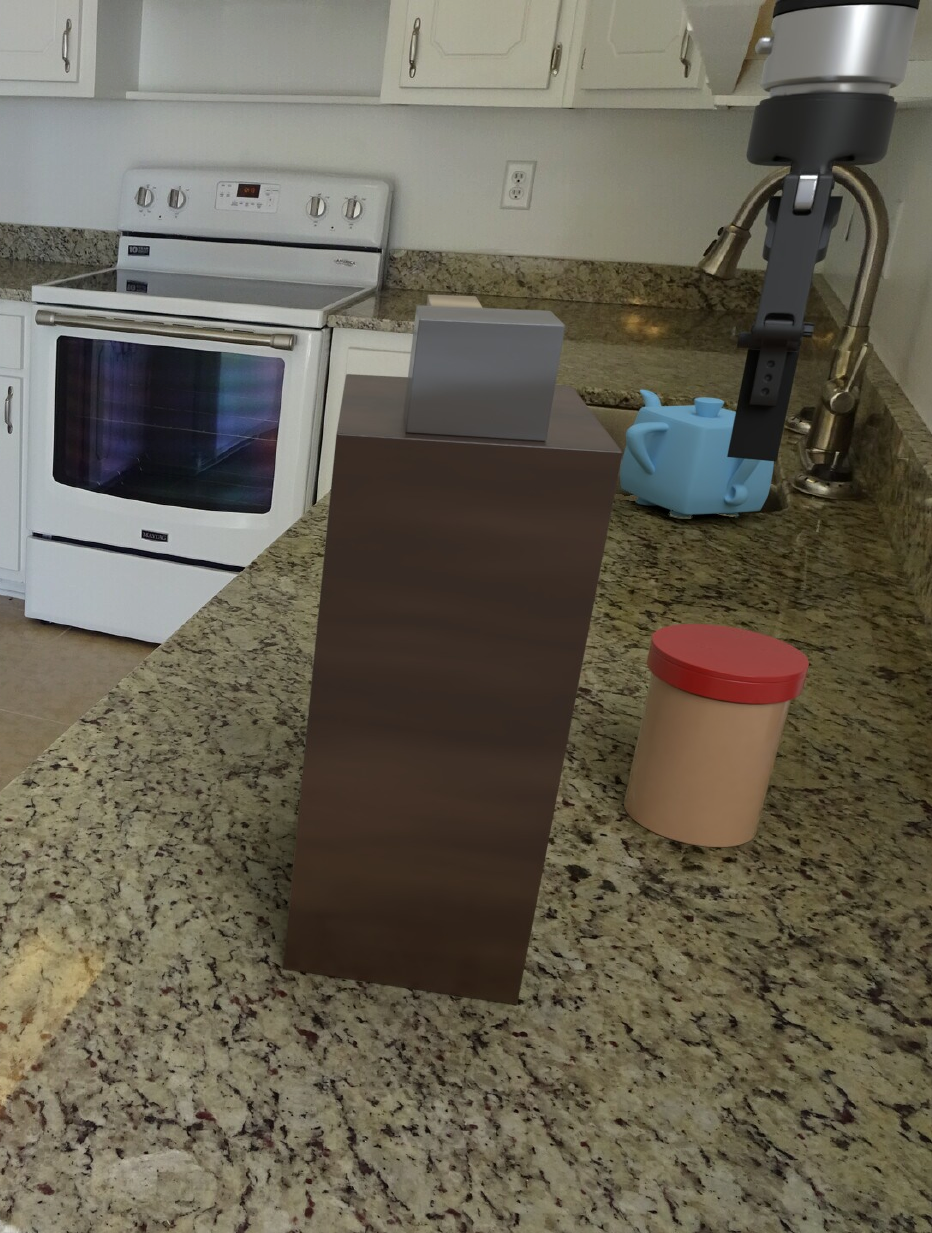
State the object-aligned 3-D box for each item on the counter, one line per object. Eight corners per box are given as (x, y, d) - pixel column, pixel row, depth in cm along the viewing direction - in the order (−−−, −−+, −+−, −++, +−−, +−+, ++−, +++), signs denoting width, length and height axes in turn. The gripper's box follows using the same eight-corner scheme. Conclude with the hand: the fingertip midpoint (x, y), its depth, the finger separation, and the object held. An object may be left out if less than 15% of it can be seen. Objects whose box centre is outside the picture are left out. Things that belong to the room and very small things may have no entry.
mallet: (546, 442, 55) (565, 325, 53) (405, 433, 56) (419, 318, 54) (493, 345, 81) (505, 264, 79) (398, 340, 82) (407, 261, 80)
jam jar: (751, 801, 85) (792, 644, 80) (761, 858, 78) (806, 690, 73) (624, 777, 88) (656, 625, 83) (622, 830, 81) (657, 668, 76)
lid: (795, 662, 81) (802, 636, 80) (811, 715, 73) (818, 687, 73) (646, 640, 84) (651, 615, 83) (646, 688, 77) (652, 661, 76)
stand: (517, 1005, 64) (623, 451, 53) (282, 969, 67) (336, 433, 56) (492, 847, 79) (572, 385, 67) (300, 822, 81) (346, 373, 70)
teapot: (776, 507, 154) (803, 398, 149) (745, 536, 142) (772, 419, 137) (623, 482, 164) (643, 379, 159) (582, 507, 153) (602, 397, 148)
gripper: (763, 115, 88) (706, 419, 94) (748, 72, 67) (676, 464, 74) (889, 112, 84) (820, 428, 91) (913, 66, 64) (822, 478, 70)
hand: (756, 445), depth 82 cm, fingers open, 13 cm apart
